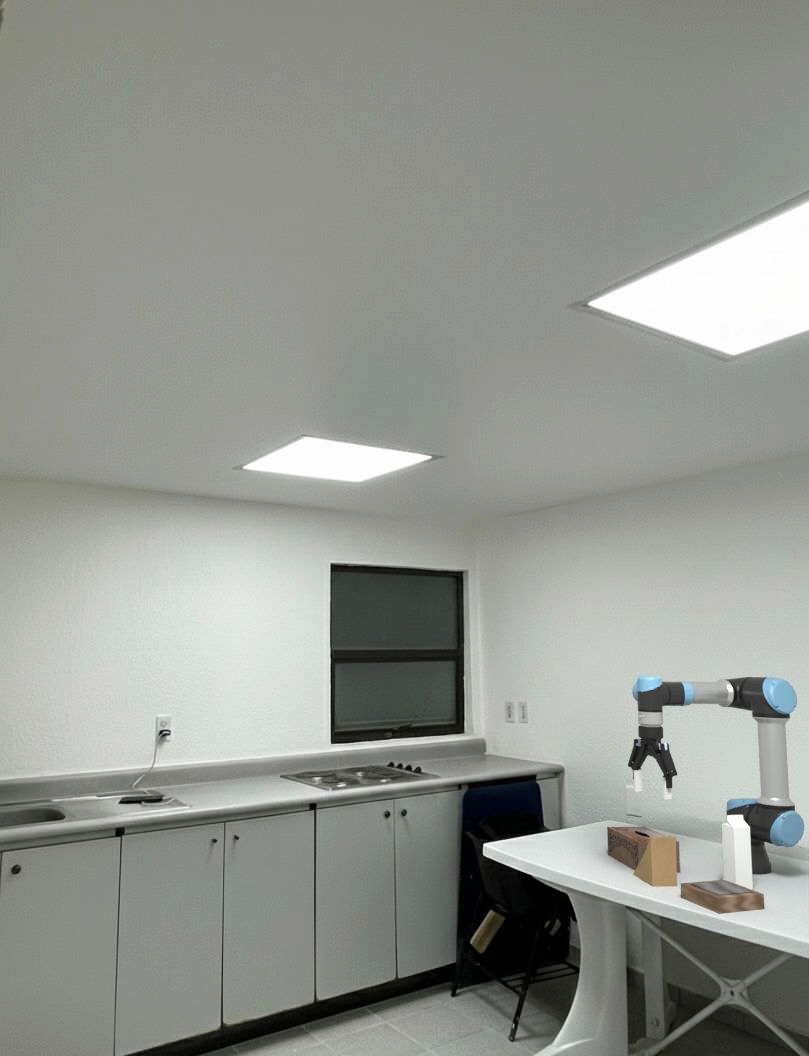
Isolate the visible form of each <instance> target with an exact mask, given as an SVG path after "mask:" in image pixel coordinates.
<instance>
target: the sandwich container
mask: <svg viewBox="0 0 809 1056" xmlns="http://www.w3.org/2000/svg"><path fill="white" fill-rule="evenodd" d="M676 841H677V837H676V836H675V835H674V836H672V835H671V836H668V835H665V836H658V837H650V840H649V842H648V845H647V847H646V849H645V851H644V853H643V855H642V858H641V860H640V862H639V864H638V866H637V868H636V870H634V872H633V874H632V875H634V876H635V877H636V878H638V879H639V880H641V881H642V882H644V883H645V884H646V885H647V884H648V885H649V886H651V887H652V888H653V887H656V888H659V887H677V886H678V878H677V877H678V873H677V865H676Z"/></svg>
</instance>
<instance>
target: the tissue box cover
mask: <svg viewBox="0 0 809 1056" xmlns="http://www.w3.org/2000/svg"><path fill="white" fill-rule="evenodd" d="M606 832H607V856H609V857H611V858H612V859H614V860H616V861H618V862H619V863H621V864H623V865H624V866H626V867H628V868H630V869H631V870H633V871H635V870H636V868H637V866H638V864H639V862H640V860H641V858H642V855H643V853H644V851H645V849H646V847H647V845H648V842H649V840H650V837H658V836H666V834H662V833H660V832H658V831H656V830H654V829H651V828H650V827H647V826H644V825H643V826H607V828H606ZM680 856H681V855H680V841H678V840H676V865H677V874H680V873H681V861H680V858H681V857H680Z"/></svg>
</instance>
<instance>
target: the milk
mask: <svg viewBox="0 0 809 1056" xmlns="http://www.w3.org/2000/svg"><path fill="white" fill-rule="evenodd" d="M721 839H722V840H721V841H722V842H721V845H722V847H721V848H722V865H723V867H722V868H723V880H726V881H729V882H732V883H735V884H738V885H740V886H743V887H746V888H749V889H751V890H754V888H753V886H754V885H753V881H754V880H753V874H752V860H751V839H750V827H749V825H748V824H747V823H746V822H745V821H744V820H743V815H727V814H726V820H725V821H724V822H723V823H721Z"/></svg>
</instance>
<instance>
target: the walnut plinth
mask: <svg viewBox="0 0 809 1056" xmlns="http://www.w3.org/2000/svg"><path fill="white" fill-rule="evenodd" d="M764 895H765V894H764V893H762V892H759V891H756V890H754V889H753V890H751V889H749V888H746V887H743V886H740V885H738V884H735V883H732V882H729V881H726V880H724V879H717V880H714V879H713V880H703V881H693V882H680V898H681V899H684V900H686V901H689V902H691V903H693V904H696V905H697V906H700V907H703V908H704V909H707V910H710V911H712V912H714V913H717V914H725V913H727V914H729V913H736V912H737V913H738V912H745V911H746V912H747V911H755V910H757V911H758V910H764V909H765V896H764Z"/></svg>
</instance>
